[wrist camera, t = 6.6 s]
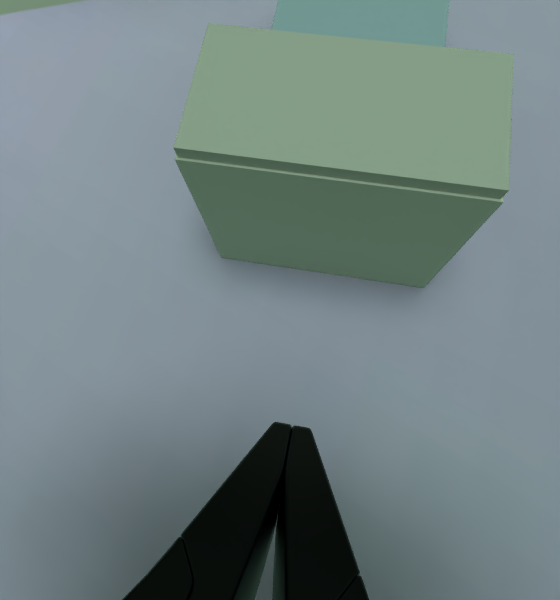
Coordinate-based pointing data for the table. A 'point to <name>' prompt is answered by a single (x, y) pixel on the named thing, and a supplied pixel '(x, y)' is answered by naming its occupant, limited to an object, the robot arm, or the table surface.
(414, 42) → the blue book
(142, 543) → the table surface
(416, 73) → the green book
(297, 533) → the robot arm
